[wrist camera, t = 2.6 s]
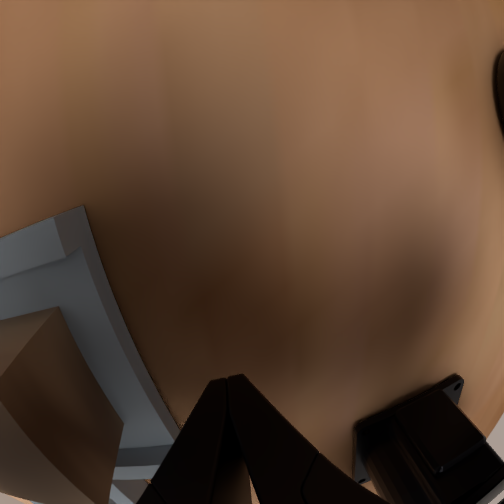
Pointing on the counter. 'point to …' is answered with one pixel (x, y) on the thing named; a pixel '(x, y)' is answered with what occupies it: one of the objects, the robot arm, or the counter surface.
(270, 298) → the counter surface
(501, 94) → the supplement bottle
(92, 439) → the walnut block
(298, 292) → the counter surface
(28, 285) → the trap tray
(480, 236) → the counter surface
